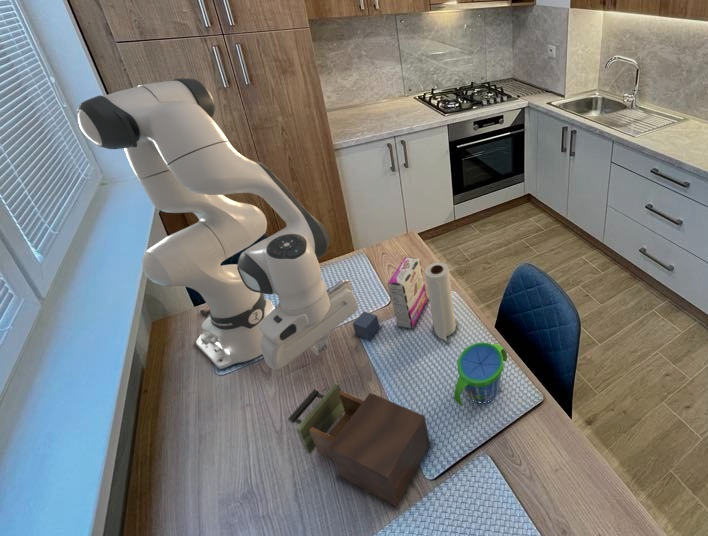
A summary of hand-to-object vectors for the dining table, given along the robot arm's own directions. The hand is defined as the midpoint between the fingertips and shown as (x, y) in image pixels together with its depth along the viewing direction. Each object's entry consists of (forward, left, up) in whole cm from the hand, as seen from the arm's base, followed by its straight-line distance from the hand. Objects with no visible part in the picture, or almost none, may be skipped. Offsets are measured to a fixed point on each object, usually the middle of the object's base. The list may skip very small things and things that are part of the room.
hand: (321, 350), depth 91 cm
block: (-5, +17, -14) cm, 23 cm away
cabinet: (+21, -8, -14) cm, 27 cm away
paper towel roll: (+15, +25, -14) cm, 33 cm away
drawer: (+9, -8, -13) cm, 18 cm away
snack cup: (+33, +13, -14) cm, 39 cm away
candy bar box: (+3, +27, -14) cm, 31 cm away
